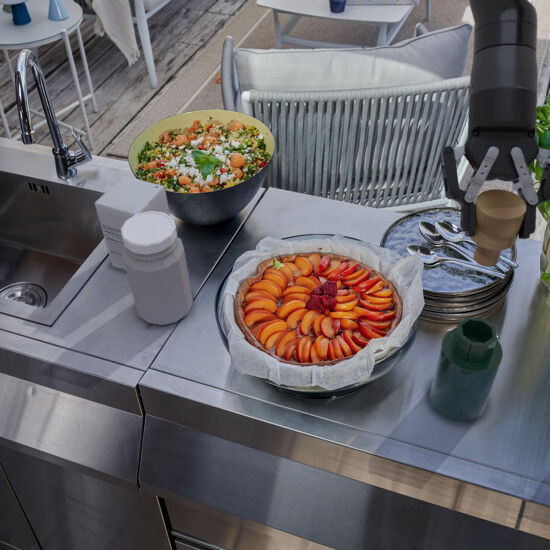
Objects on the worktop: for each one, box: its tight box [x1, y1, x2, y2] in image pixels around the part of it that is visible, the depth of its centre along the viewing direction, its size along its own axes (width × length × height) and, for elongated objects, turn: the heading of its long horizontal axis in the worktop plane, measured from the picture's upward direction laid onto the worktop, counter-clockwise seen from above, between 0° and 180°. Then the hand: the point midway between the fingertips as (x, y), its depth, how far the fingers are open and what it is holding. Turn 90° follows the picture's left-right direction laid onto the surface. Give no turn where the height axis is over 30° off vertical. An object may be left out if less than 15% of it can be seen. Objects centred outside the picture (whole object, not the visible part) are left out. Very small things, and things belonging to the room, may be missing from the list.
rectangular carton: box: [94, 175, 171, 271], centre depth 114 cm, size 9×9×15 cm
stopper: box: [469, 188, 526, 268], centre depth 77 cm, size 6×6×9 cm
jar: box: [121, 211, 194, 326], centre depth 104 cm, size 10×10×18 cm
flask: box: [429, 316, 504, 423], centre depth 89 cm, size 8×8×16 cm
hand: (497, 236), depth 75 cm, fingers closed on stopper, 5 cm apart
